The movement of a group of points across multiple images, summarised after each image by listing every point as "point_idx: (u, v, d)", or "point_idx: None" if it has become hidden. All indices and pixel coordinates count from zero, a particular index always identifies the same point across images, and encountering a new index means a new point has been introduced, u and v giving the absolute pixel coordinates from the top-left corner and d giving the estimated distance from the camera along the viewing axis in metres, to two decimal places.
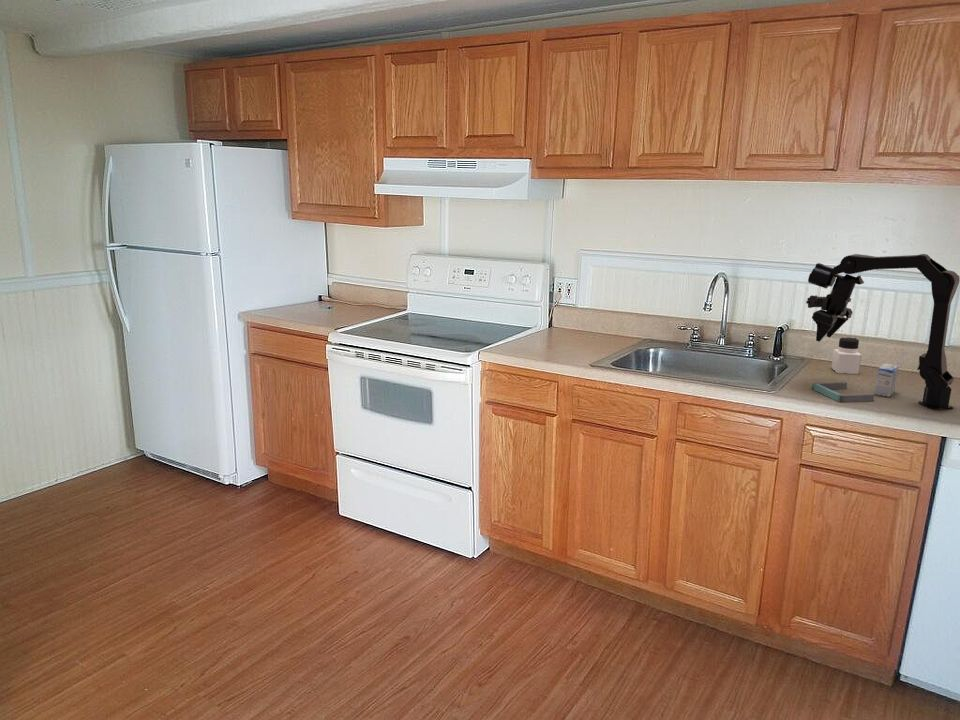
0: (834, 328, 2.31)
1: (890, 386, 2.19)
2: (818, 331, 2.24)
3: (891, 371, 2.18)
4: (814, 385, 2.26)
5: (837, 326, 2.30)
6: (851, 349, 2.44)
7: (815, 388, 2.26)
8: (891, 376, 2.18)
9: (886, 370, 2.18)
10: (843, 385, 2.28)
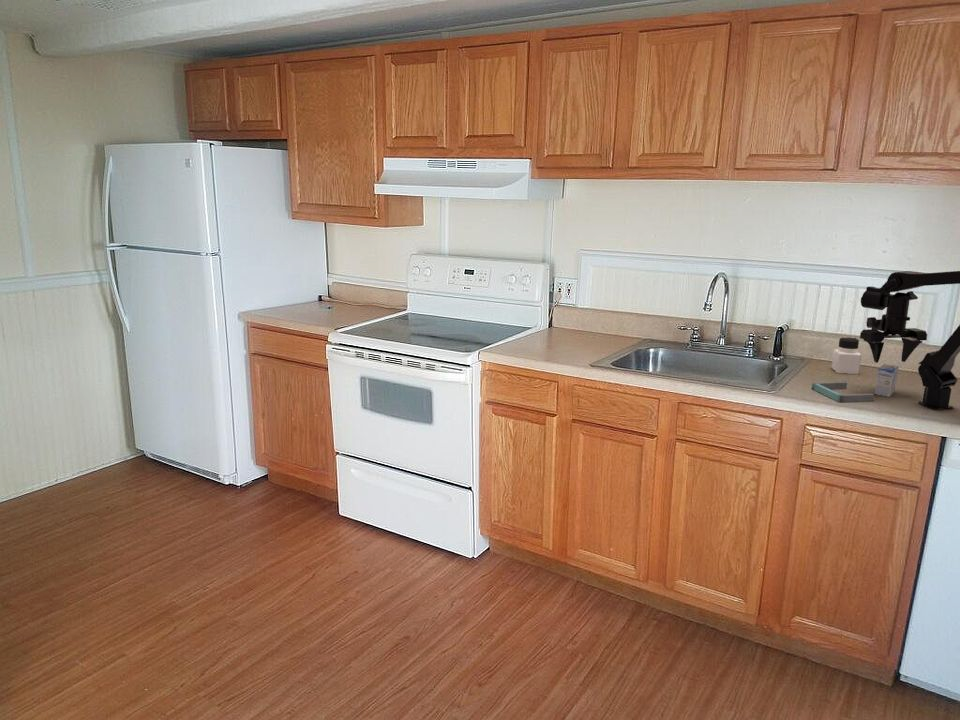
0: (907, 351, 2.20)
1: (890, 386, 2.19)
2: (873, 351, 2.20)
3: (891, 371, 2.18)
4: (814, 385, 2.26)
5: (909, 349, 2.19)
6: (851, 349, 2.44)
7: (815, 388, 2.26)
8: (891, 376, 2.18)
9: (886, 370, 2.18)
10: (843, 385, 2.28)
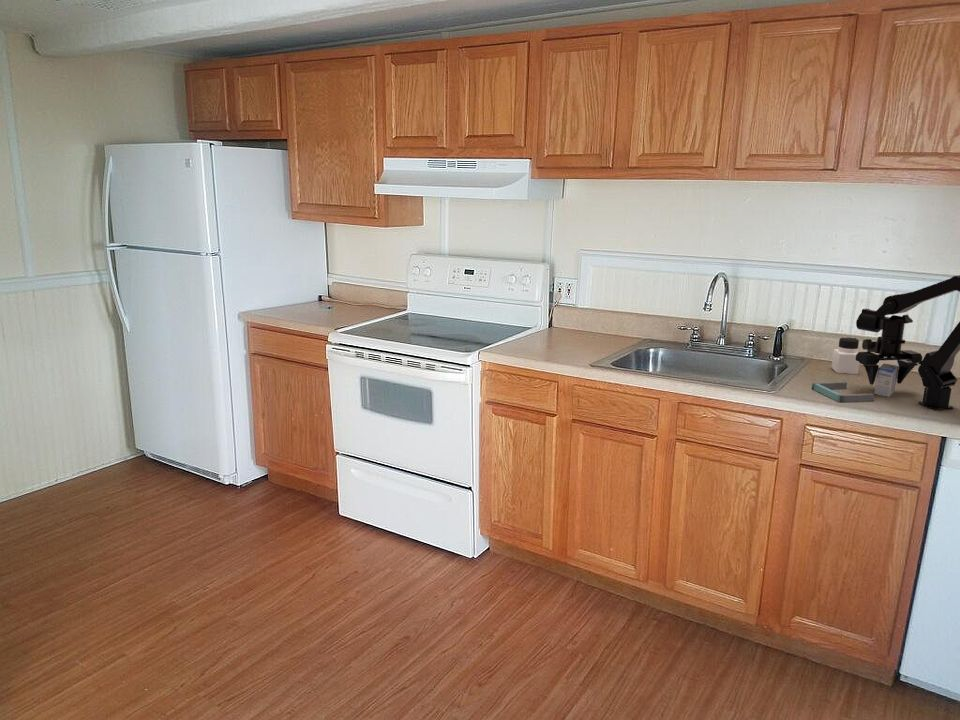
0: (902, 373, 2.22)
1: (890, 386, 2.19)
2: (868, 374, 2.22)
3: (891, 371, 2.18)
4: (814, 385, 2.26)
5: (904, 371, 2.21)
6: (851, 349, 2.44)
7: (815, 388, 2.26)
8: (891, 376, 2.18)
9: (886, 370, 2.18)
10: (843, 385, 2.28)
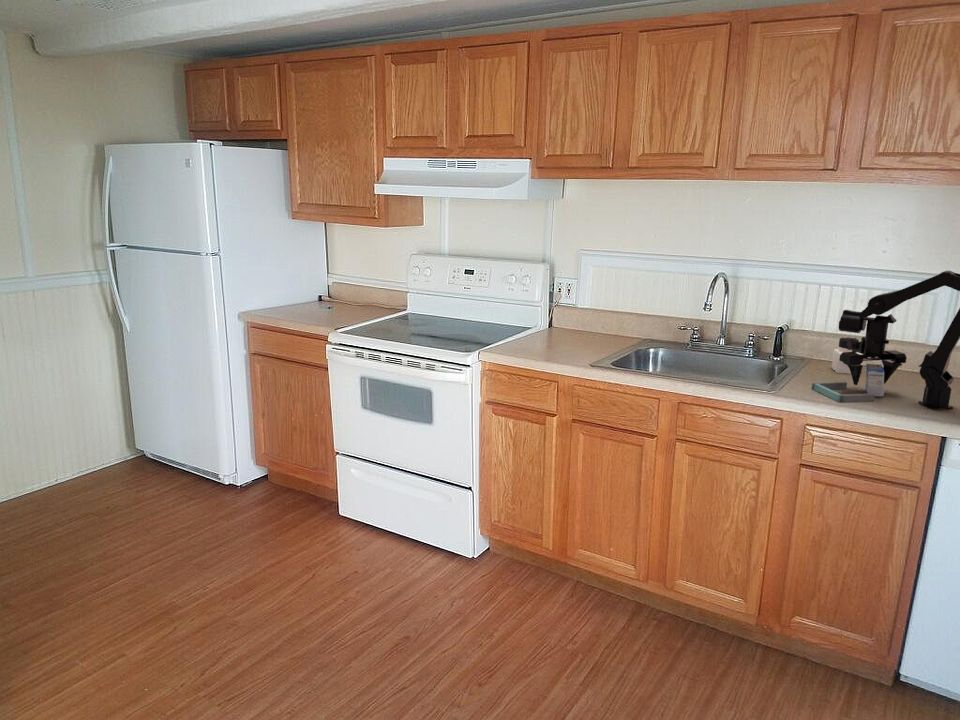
0: (887, 373, 2.21)
1: (882, 385, 2.18)
2: (852, 374, 2.21)
3: (881, 370, 2.17)
4: (814, 385, 2.26)
5: (888, 371, 2.20)
6: None
7: (815, 388, 2.26)
8: (882, 375, 2.17)
9: (876, 370, 2.17)
10: (843, 385, 2.28)
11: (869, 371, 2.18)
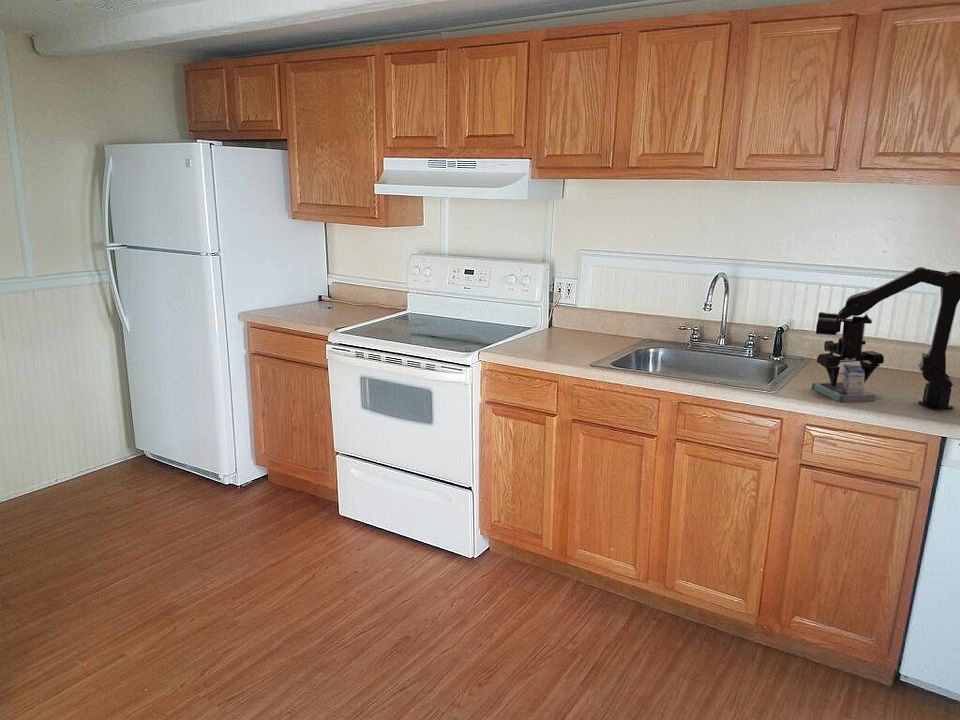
0: (865, 374, 2.20)
1: (863, 386, 2.17)
2: (829, 376, 2.20)
3: (862, 371, 2.16)
4: (814, 385, 2.26)
5: (866, 372, 2.19)
6: None
7: (815, 388, 2.26)
8: (862, 376, 2.16)
9: (857, 371, 2.16)
10: None
11: (850, 372, 2.17)
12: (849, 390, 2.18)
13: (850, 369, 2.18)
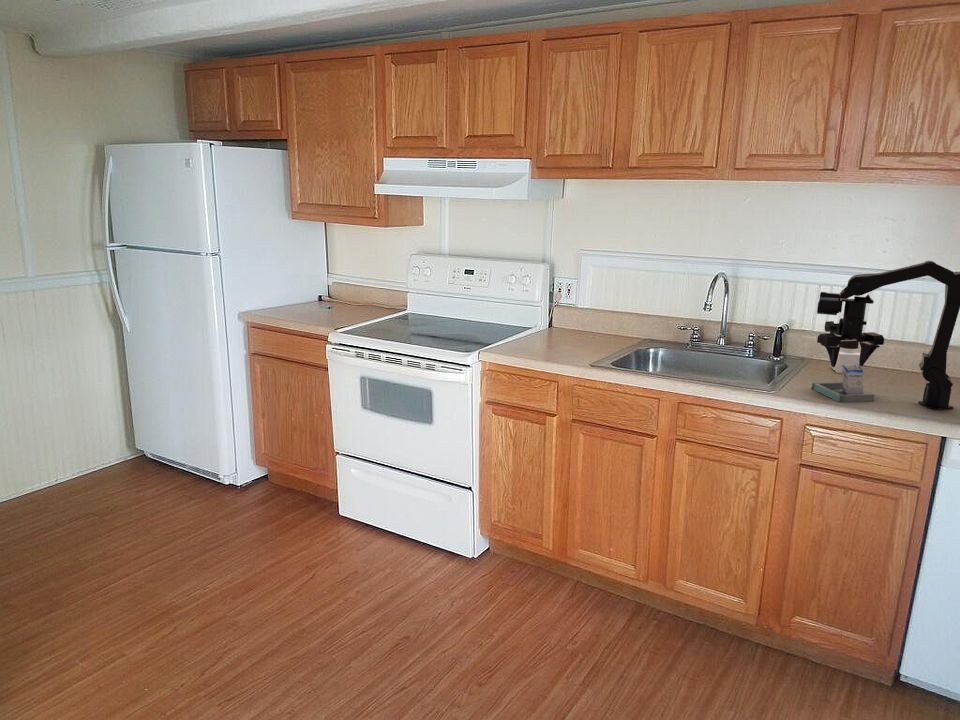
0: (864, 355, 2.18)
1: (862, 385, 2.17)
2: (830, 356, 2.19)
3: (861, 371, 2.16)
4: (814, 385, 2.26)
5: (866, 353, 2.18)
6: (851, 349, 2.44)
7: (815, 388, 2.26)
8: (861, 375, 2.16)
9: (856, 371, 2.16)
10: None
11: (848, 372, 2.17)
12: (849, 390, 2.18)
13: (849, 369, 2.18)
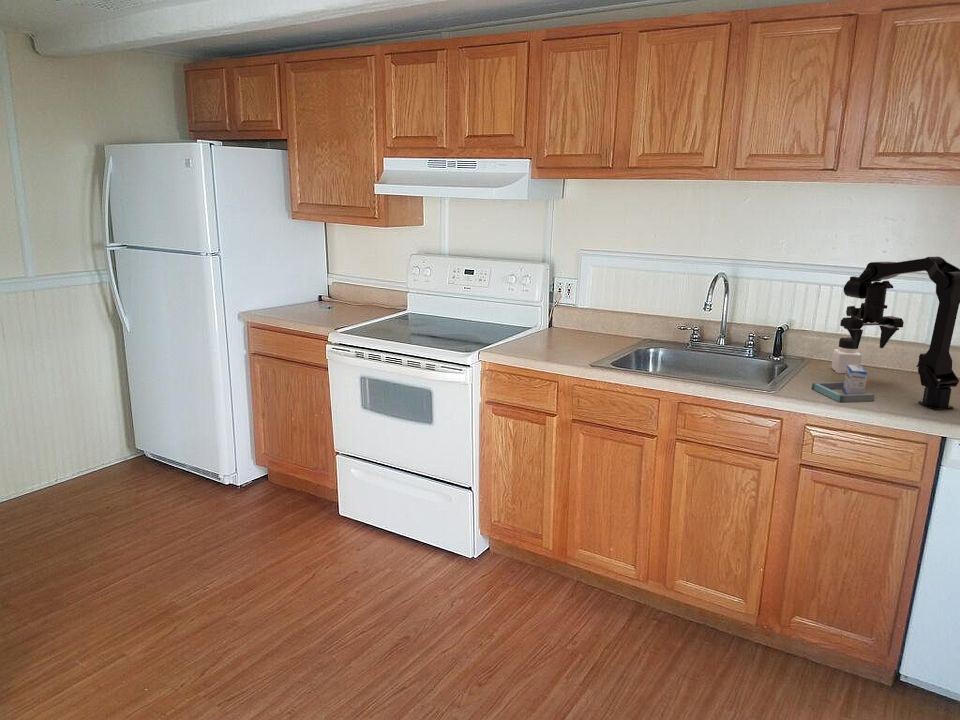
0: (885, 338, 2.31)
1: (864, 387, 2.17)
2: (852, 338, 2.30)
3: (865, 372, 2.16)
4: (814, 385, 2.26)
5: (886, 336, 2.30)
6: (851, 349, 2.44)
7: (815, 388, 2.26)
8: (865, 377, 2.16)
9: (860, 372, 2.16)
10: (843, 385, 2.28)
11: (852, 372, 2.17)
12: (850, 390, 2.18)
13: (853, 369, 2.18)
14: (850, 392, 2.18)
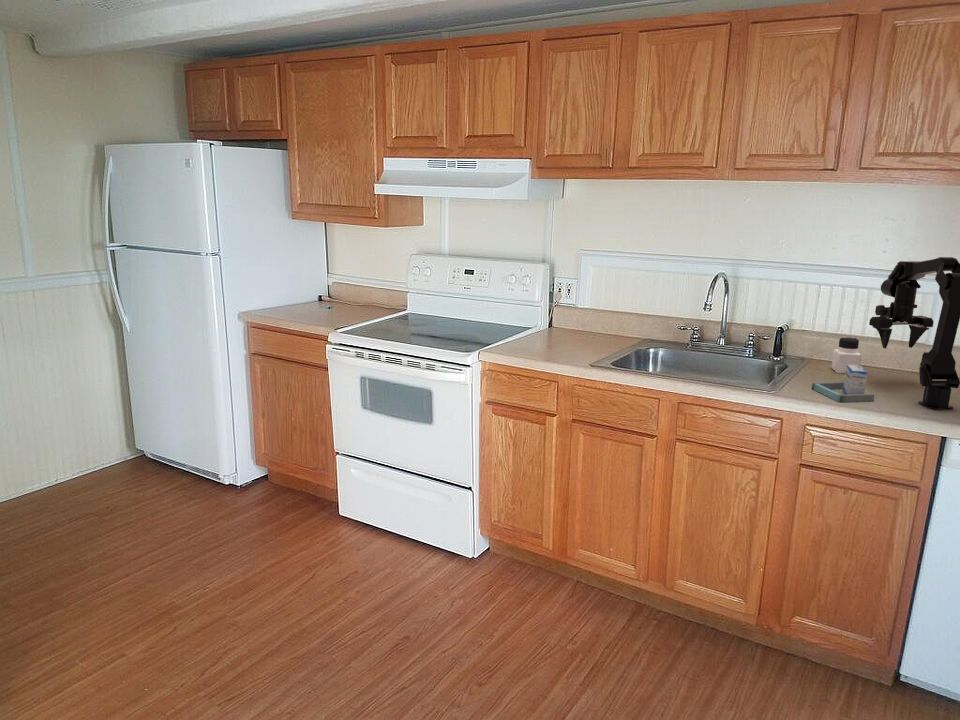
0: (914, 337, 2.30)
1: (864, 387, 2.17)
2: (881, 338, 2.30)
3: (865, 372, 2.16)
4: (814, 385, 2.26)
5: (916, 335, 2.30)
6: (851, 349, 2.44)
7: (815, 388, 2.26)
8: (865, 377, 2.16)
9: (860, 372, 2.16)
10: (843, 385, 2.28)
11: (853, 372, 2.17)
12: (850, 390, 2.18)
13: (853, 369, 2.18)
14: (850, 392, 2.18)
